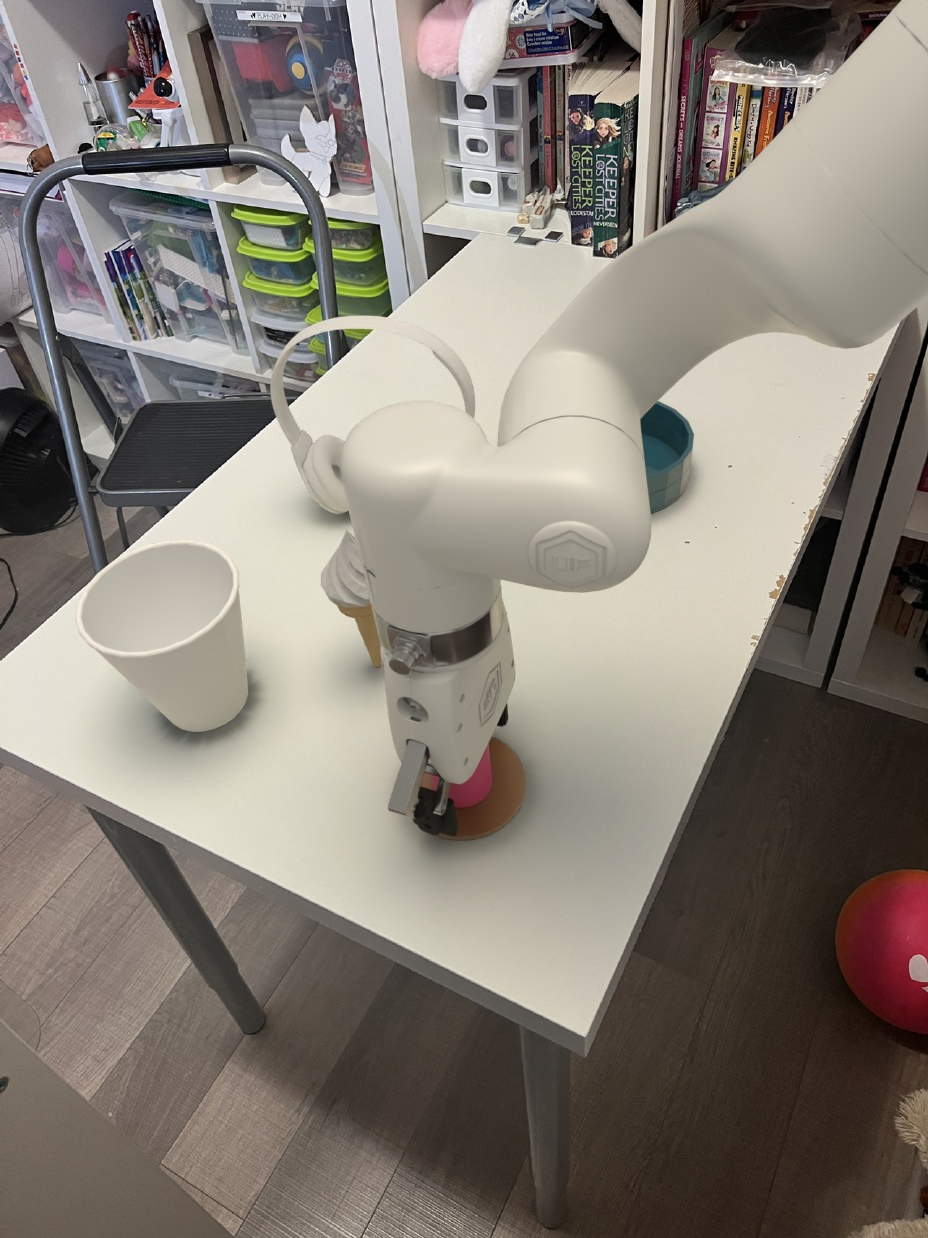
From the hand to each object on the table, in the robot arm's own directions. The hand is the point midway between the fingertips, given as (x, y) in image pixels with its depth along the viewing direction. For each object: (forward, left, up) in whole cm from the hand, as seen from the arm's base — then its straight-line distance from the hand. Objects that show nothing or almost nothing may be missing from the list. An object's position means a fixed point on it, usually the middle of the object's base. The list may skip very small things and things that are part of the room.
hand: (463, 770), depth 64 cm
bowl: (-28, -27, -2) cm, 39 cm away
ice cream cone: (+2, -14, -2) cm, 14 cm away
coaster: (0, 0, -2) cm, 2 cm away
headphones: (-6, -33, -2) cm, 34 cm away
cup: (+16, -17, -2) cm, 24 cm away
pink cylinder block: (0, 0, -2) cm, 2 cm away
